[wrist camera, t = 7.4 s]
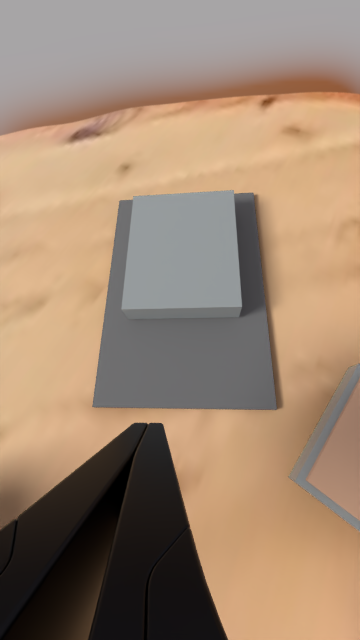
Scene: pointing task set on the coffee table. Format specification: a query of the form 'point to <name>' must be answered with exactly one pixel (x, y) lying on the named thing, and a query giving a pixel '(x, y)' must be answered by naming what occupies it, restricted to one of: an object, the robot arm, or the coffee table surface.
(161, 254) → the tile
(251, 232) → the mat
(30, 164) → the coffee table surface
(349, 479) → the tile
